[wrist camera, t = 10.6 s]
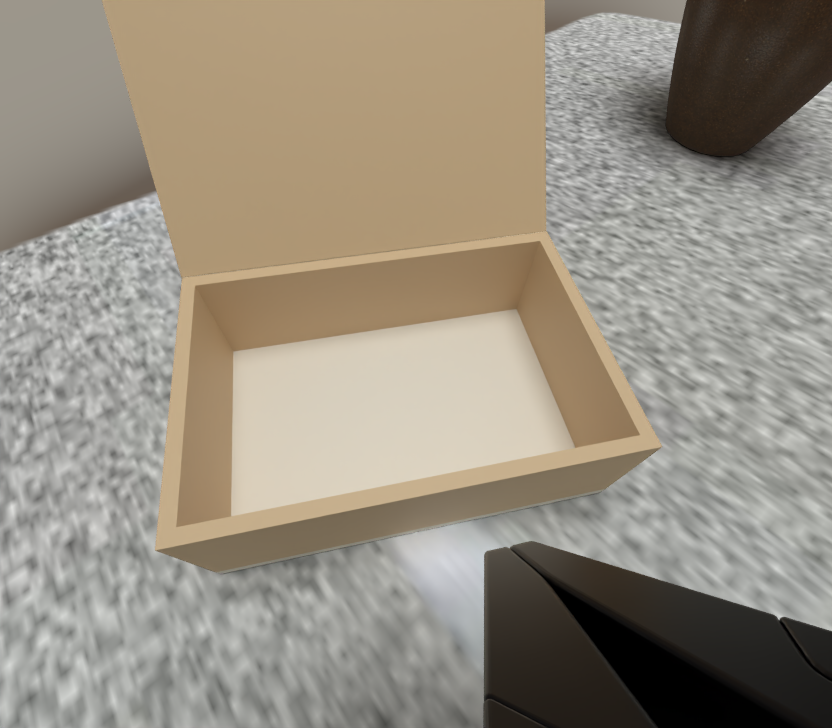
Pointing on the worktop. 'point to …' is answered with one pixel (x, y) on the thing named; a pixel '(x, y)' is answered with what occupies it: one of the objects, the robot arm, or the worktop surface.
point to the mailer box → (385, 400)
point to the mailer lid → (336, 123)
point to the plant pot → (746, 70)
